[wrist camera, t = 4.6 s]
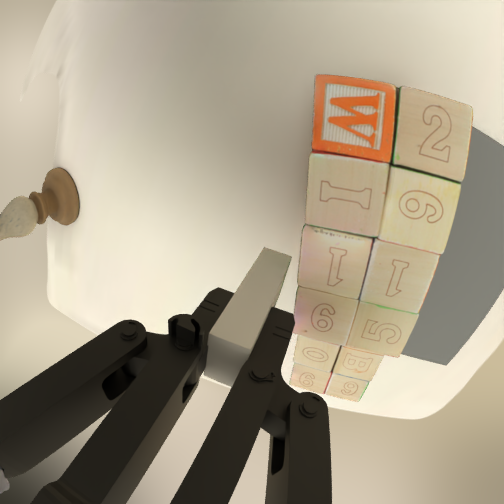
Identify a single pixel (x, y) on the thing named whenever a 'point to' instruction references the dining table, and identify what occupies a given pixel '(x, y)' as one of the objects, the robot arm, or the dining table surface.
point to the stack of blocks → (372, 225)
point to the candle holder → (41, 206)
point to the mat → (466, 260)
